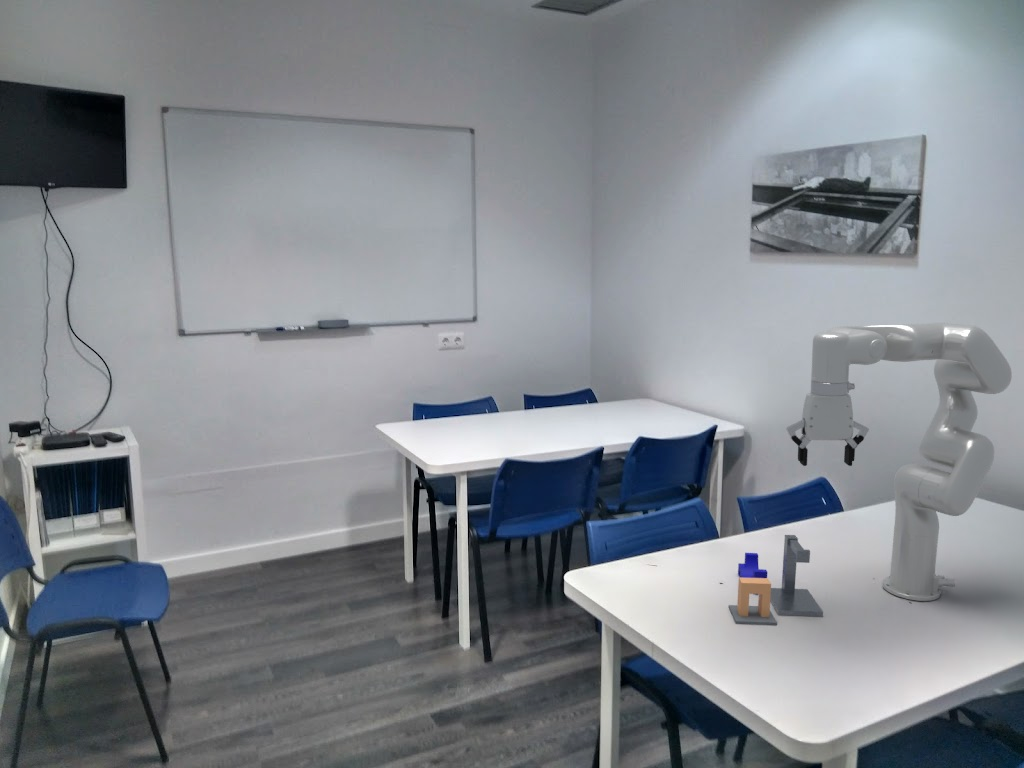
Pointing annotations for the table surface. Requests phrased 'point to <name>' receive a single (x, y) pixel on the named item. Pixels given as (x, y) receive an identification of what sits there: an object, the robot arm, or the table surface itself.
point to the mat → (751, 616)
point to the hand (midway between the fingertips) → (825, 464)
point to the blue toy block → (751, 567)
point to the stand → (793, 584)
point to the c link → (754, 587)
